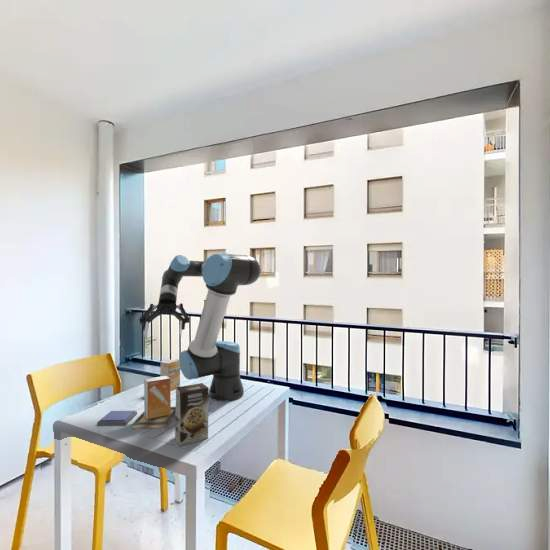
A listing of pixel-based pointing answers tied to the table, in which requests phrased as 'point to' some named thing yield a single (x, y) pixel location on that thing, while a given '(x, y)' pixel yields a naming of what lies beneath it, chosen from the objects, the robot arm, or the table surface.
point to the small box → (157, 397)
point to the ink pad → (117, 418)
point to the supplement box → (171, 372)
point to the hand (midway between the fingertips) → (162, 336)
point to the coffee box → (191, 413)
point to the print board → (154, 421)
